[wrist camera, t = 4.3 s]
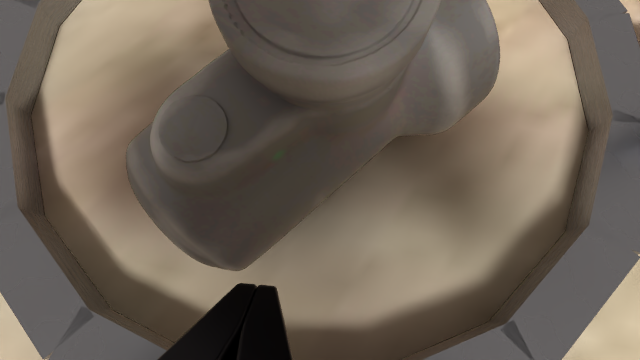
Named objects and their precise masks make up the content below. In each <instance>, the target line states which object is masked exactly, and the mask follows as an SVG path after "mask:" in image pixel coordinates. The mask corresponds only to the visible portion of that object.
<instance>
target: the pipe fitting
mask: <svg viewBox="0 0 640 360" xmlns="http://www.w3.org/2000/svg"><path fill="white" fill-rule="evenodd" d="M209 3H210V7H211V11H212V14H213V16H214V19H215V21H216V23H217V25H218V27H219V29H220V31H221V33H222V35H223V37H224V40H225V42H226V44H227V45H228V47H229V50H227V51H226V52H224V53H223V54H222V55H220V56H219V57H218V58H216V59H215V60H214V61H212V62H211V63H210V64H208V65H207V66H206V67H204V68H203V69H202V70H201V71H199V72H198V73H197V74H196V75H194V76H193V77H192V78H191V79H189V80H188V81H187V82H185V83H184V84H183V85H181V86H180V87H179V88H178V89H176V90H175V91H174V92H173V93H172V94H171V95H170V96H169V97H168V98H167V99H166V100H165V101H164V103H163V104H162V106H161V107H160V108H159V110H158V112H157V114H156V116H155V119H154V121H153V122H152V123H151V124H150V125H148V126H147V127H146V128H145V129H144V130H143V131H142V132H140V133H139V134H138V135H137V136H136V137H135V138H134V139H133V140H132V141H131V142H130V144H129V145H128V148H127V152H126V166H127V173H128V178H129V181H130V184H131V187H132V189H133V192H134V194H135V195H136V197H137V199H138V201H139V202H140V204H141V205H142V207H143V208H144V210H145V211H146V212H147V214H148V215H149V217H150V218H151V219H152V220H153V222H154V223H155V224H156V225H157V226H158V228H159V229H160V230H161V231H162V232H163V233H164V234H165V235H166V236H167V237H168V238H169V239H170V240H171V241H172V242H173V243H174V244H175V245H176V246H177V247H178V248H180V249H181V250H182V251H183V252H185V253H186V254H187V255H189V256H190V257H192V258H193V259H195V260H197V261H199V262H201V263H203V264H206V265H209V266H212V267H217V268H222V269H227V270H232V271H240V270H243V269H245V268H246V267H248V266H249V265H250V264H252V263H253V262H254V261H255V260H257V259H258V258H259V257H260V256H261V255H263V254H264V253H265V252H266V251H268V250H269V249H270V248H271V247H272V246H273V245H274V244H276V243H277V242H278V241H279V240H280V239H281V238H282V237H284V236H285V235H286V234H287V233H288V232H289V231H290V230H291V229H293V228H294V227H295V226H296V225H297V224H298V223H299V222H301V221H302V220H303V219H304V218H305V217H306V216H307V215H308V214H310V213H311V212H312V211H313V210H314V209H315V208H316V207H317V206H319V205H320V204H321V203H322V202H323V201H324V200H325V199H326V198H328V197H329V196H330V195H331V194H332V193H333V192H334V191H336V190H337V189H338V188H339V187H340V186H341V185H342V184H343V183H345V182H346V181H347V180H348V179H349V178H350V177H351V176H352V175H354V174H355V173H356V172H357V171H358V170H359V169H360V168H361V167H363V166H364V165H365V164H366V163H367V162H368V161H369V160H371V159H372V158H373V157H374V156H375V155H376V154H377V153H378V152H380V151H381V150H382V149H383V148H384V147H385V146H386V145H387V144H389V143H390V142H391V141H392V140H393V139H394V138H396V137H397V136H411V135H432V134H438V133H441V132H444V131H446V130H448V129H449V128H451V127H452V126H453V125H455V124H456V123H457V122H458V121H459V120H461V119H462V118H463V117H464V116H465V115H466V114H468V113H469V112H470V111H471V110H472V109H473V108H475V107H476V106H477V105H478V104H479V103H480V102H481V101H482V100H483V99H484V98H485V97H486V96H487V95H488V94H489V92H490V91H491V89H492V88H493V86H494V84H495V81H496V78H497V74H498V70H499V63H500V46H499V38H498V32H497V28H496V24H495V20H494V18H493V15H492V12H491V10H490V8H489V6H488V3H487V1H486V0H209Z"/></svg>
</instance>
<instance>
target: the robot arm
mask: <svg viewBox="0 0 640 360" xmlns="http://www.w3.org/2000/svg"><path fill="white" fill-rule="evenodd" d="M157 360H293V357H292V353H291V349H290V344H289V340H288V336H287V331H286V327H285V322H284V318H283V314H282V309H281V305H280V301H279V296H278V292H277V288H276V287H275V286H267V285H259V286H258V287H257V286H256V285H254V284H244V283H240V284H237V285H236V286H235V287H234V288H233V289H232V290H231V291H230V292H229V293H228V294H226V295H225V296H224V297H223V298H222V299H221V300H220V301H219V302H218V303H217V304H216V305H215V306H214V307H213V308H212V309H210V310H209V311H208V312H207V313H206V314H205V315H204V316H203V317H202V318H201V319H200V320H199V321H198V322H197V323H196V324H194V325H193V326H192V327H191V328H190V329H189V330H188V331H187V332H186V333H185V334H184V335H183V336H182V337H181V338H180V339H178V340H177V341H176V342H175V343H174V344H173V345H172V346H171V347H170V348H169V349H168V350H167V351H166V352H165V353H164V354H163V355H161V356H160V357H159V358H158V359H157Z"/></svg>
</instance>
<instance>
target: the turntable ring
mask: <svg viewBox="0 0 640 360" xmlns="http://www.w3.org/2000/svg"><path fill="white" fill-rule="evenodd" d="M80 1H81V0H0V292H1V294H2V295H3V297H4V298H5V300H6V302H7V303H8V305H9V306H10V308H11V310H12V311H13V313H14V314H15V316H16V317H17V319H18V321H19V322H20V324H21V325H22V327H23V329H24V330H25V332H26V333H27V335H28V336H29V338H30V340H31V341H32V343H33V344H34V346H35V348H36V349H37V351H38V352H39V354H40V355H41V357H42V359H48V360H157V359H158V358H159V357H160V356H161V355H163V354H164V353H165V352H166V351H167V350H168V349H169V348H170V347H171V346H172V345H173V344H174V342H172V341H170V340H169V339H167V338H165V337H163V336H161V335H159V334H157V333H155V332H153V331H151V330H149V329H147V328H145V327H144V326H142V325H140V324H138V323H136V322H134V321H132V320H130V319H128V318H126V317H124V316H122V315H120V314H119V313H117V312H115V311H113V310H111V309H110V307H109V306H108V304H107V303H106V302H105V300H104V299H103V297H102V296H101V295H100V293H99V292H98V290H97V289H96V288H95V286H94V285H93V283H92V282H91V281H90V279H89V278H88V276H87V275H86V274H85V272H84V271H83V269H82V268H81V267H80V265H79V264H78V262H77V261H76V260H75V258H74V257H73V255H72V254H71V253H70V251H69V250H68V248H67V247H66V246H65V244H64V243H63V241H62V240H61V239H60V237H59V236H58V234H57V233H56V232H55V230H54V229H53V227H52V226H51V225H50V223H49V222H48V220H47V219H46V218H45V216H44V209H43V202H42V194H41V187H40V180H39V173H38V166H37V158H36V151H35V144H34V137H33V130H32V122H31V112H32V109H33V106H34V103H35V100H36V97H37V93H38V90H39V87H40V84H41V81H42V78H43V75H44V72H45V69H46V66H47V63H48V59H49V56H50V53H51V50H52V47H53V44H54V41H55V38H56V35H57V32H58V29H59V26H60V25H61V24H62V22H63V21H64V20H65V19H66V18H67V16H68V15H69V14H70V13H71V12H72V11H73V9H74V8H75V7H76V6H77V5H78V3H79V2H80ZM539 1H540V2H541V3H542V5H543V6H544V7H545V9H546V10H547V12H548V13H549V14H550V16H551V17H552V18H553V20H554V21H555V23H556V24H557V25H558V27H559V28H560V29H561V31H562V32H563V34H564V35H565V36H566V38H567V39H568V42H569V46H570V51H571V55H572V60H573V64H574V68H575V73H576V77H577V81H578V86H579V90H580V94H581V99H582V103H583V108H584V112H585V116H586V121H587V125H588V129H589V133H588V137H587V141H586V145H585V150H584V154H583V158H582V162H581V167H580V171H579V175H578V179H577V183H576V188H575V192H574V196H573V200H572V205H571V209H570V213H569V217H568V221H567V226H566V230H565V233H564V234H563V235H562V236H561V238H560V239H559V240H558V241H557V242H556V243H555V245H554V246H553V247H552V248H551V249H550V250H549V252H548V253H547V254H546V255H545V256H544V257H543V259H542V260H541V261H540V262H539V263H538V264H537V266H536V267H535V268H534V269H533V270H532V271H531V273H530V274H529V275H528V276H527V277H526V278H525V280H524V281H523V282H522V283H521V284H520V285H519V287H518V288H517V289H516V290H515V291H514V292H513V294H512V295H511V296H510V297H509V298H508V299H507V301H506V302H505V303H504V304H503V305H502V307H501V308H500V309H499V310H498V311H497V312H496V314H495V315H494V316H493V317H492V318H491V319H490V321H489V322H487V323H485V324H483V325H480V326H478V327H476V328H473V329H471V330H469V331H466V332H464V333H462V334H459V335H457V336H455V337H452V338H450V339H448V340H445V341H443V342H441V343H438V344H436V345H434V346H431V347H429V348H427V349H424V350H422V351H420V352H417V353H415V354H413V355H410V356H408V357H406V358H403V359H401V360H562V358H563V357H564V356H565V354H566V353H567V352H568V351H569V349H570V348H571V347H572V345H573V344H574V343H575V341H576V340H577V339H578V338H579V336H580V335H581V334H582V332H583V331H584V330H585V328H586V327H587V326H588V325H589V323H590V322H591V321H592V319H593V318H594V317H595V315H596V314H597V313H598V312H599V310H600V309H601V308H602V306H603V305H604V304H605V302H606V301H607V300H608V299H609V297H610V296H611V295H612V293H613V292H614V291H615V290H616V288H617V287H618V286H619V284H620V283H621V282H622V280H623V279H624V278H625V277H626V275H627V274H628V273H629V271H630V270H631V269H632V267H633V266H634V265H635V264H636V262H637V261H638V260H639V258H640V257H639V256H638V255H637V254H640V47H639V44H638V41H637V38H636V34H635V31H634V28H633V24H632V21H631V18H630V15H629V13H626V12H627V9H626V8H625V7H624V6H623V5H622V3H621V2H620V1H619V0H539Z"/></svg>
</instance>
